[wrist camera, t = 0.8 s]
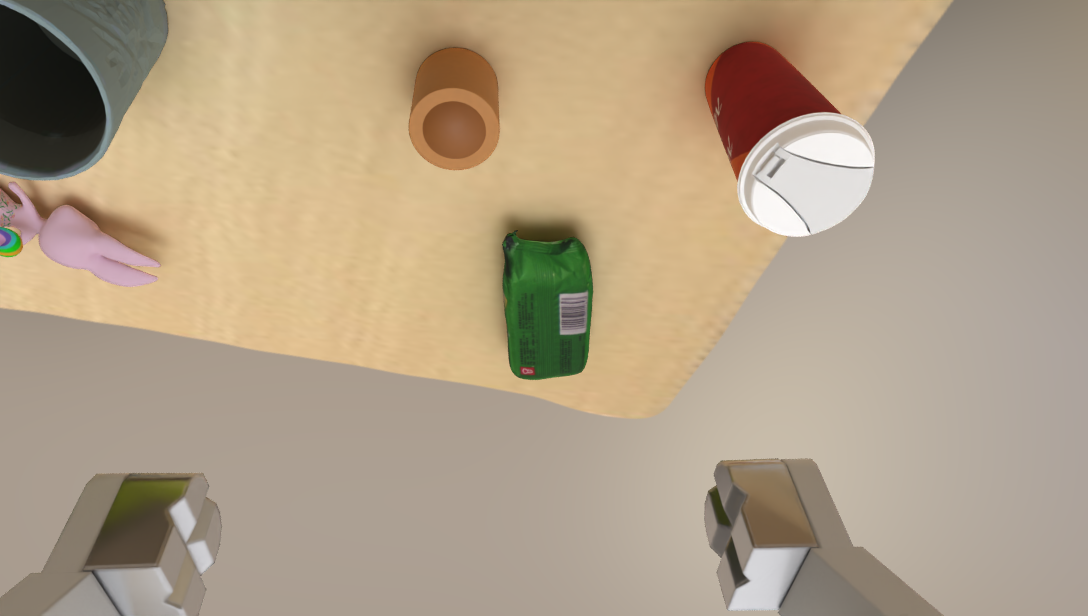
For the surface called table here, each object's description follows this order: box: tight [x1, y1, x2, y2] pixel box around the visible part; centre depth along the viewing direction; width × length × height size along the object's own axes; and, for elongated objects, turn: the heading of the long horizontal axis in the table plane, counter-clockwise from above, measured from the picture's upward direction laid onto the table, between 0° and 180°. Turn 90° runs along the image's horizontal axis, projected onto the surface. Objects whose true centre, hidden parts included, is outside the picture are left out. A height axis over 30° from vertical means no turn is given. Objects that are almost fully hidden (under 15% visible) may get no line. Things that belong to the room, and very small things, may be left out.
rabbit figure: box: [0, 182, 161, 287], centre depth 52 cm, size 6×6×15 cm
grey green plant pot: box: [0, 0, 168, 180], centre depth 40 cm, size 10×10×12 cm
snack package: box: [502, 230, 593, 380], centre depth 60 cm, size 7×16×5 cm, turn 0°
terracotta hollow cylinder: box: [409, 48, 500, 170], centre depth 47 cm, size 6×6×7 cm
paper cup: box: [705, 42, 875, 237], centre depth 45 cm, size 8×8×14 cm
